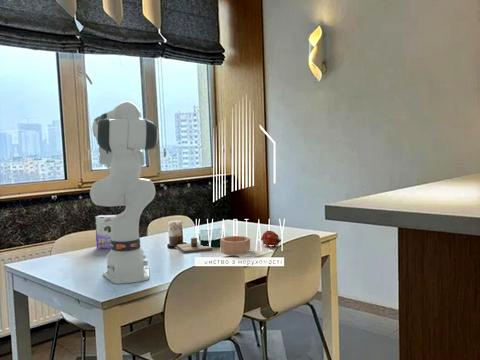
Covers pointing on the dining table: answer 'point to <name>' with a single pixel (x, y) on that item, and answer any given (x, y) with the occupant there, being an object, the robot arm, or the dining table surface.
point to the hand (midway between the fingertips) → (121, 174)
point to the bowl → (235, 244)
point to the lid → (193, 247)
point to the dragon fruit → (270, 238)
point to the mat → (192, 252)
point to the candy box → (103, 231)
